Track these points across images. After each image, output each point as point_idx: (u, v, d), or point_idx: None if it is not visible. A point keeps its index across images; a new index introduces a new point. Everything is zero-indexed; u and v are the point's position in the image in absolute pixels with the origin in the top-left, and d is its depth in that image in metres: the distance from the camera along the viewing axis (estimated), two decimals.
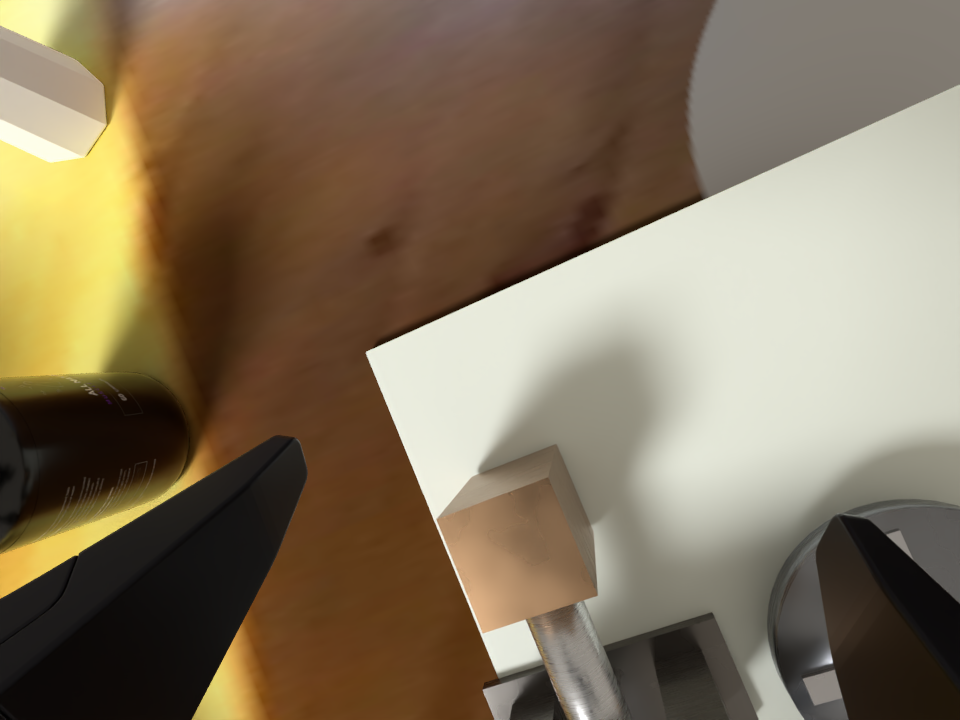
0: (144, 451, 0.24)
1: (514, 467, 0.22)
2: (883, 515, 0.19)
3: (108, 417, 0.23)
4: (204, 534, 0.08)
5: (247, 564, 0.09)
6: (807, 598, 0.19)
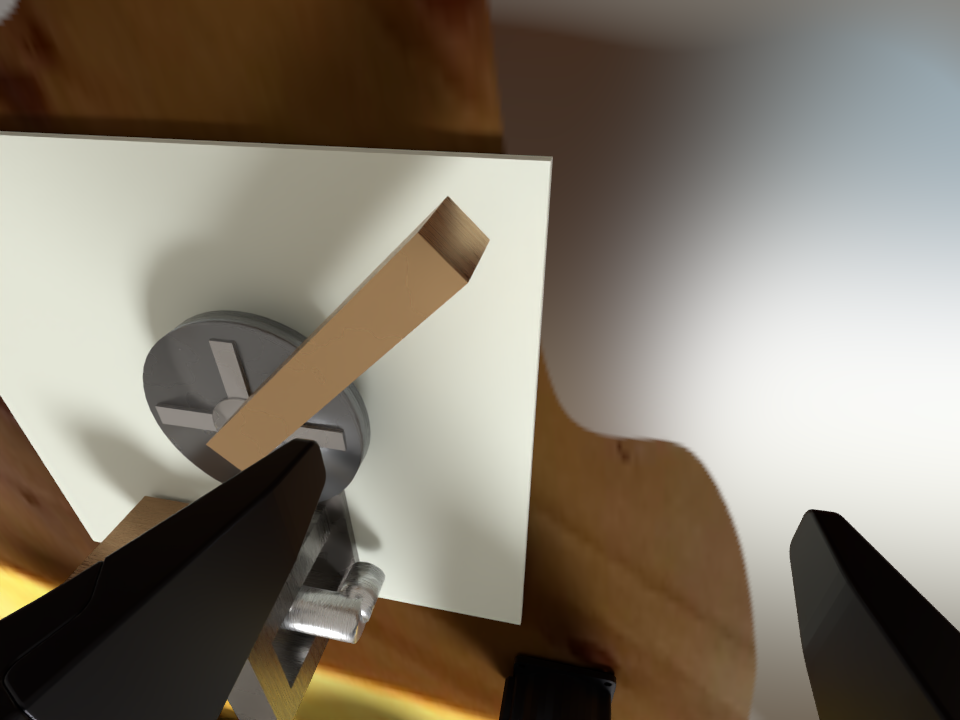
0: None
1: None
2: (149, 405, 0.24)
3: None
4: (228, 538, 0.08)
5: (269, 568, 0.09)
6: (209, 466, 0.26)
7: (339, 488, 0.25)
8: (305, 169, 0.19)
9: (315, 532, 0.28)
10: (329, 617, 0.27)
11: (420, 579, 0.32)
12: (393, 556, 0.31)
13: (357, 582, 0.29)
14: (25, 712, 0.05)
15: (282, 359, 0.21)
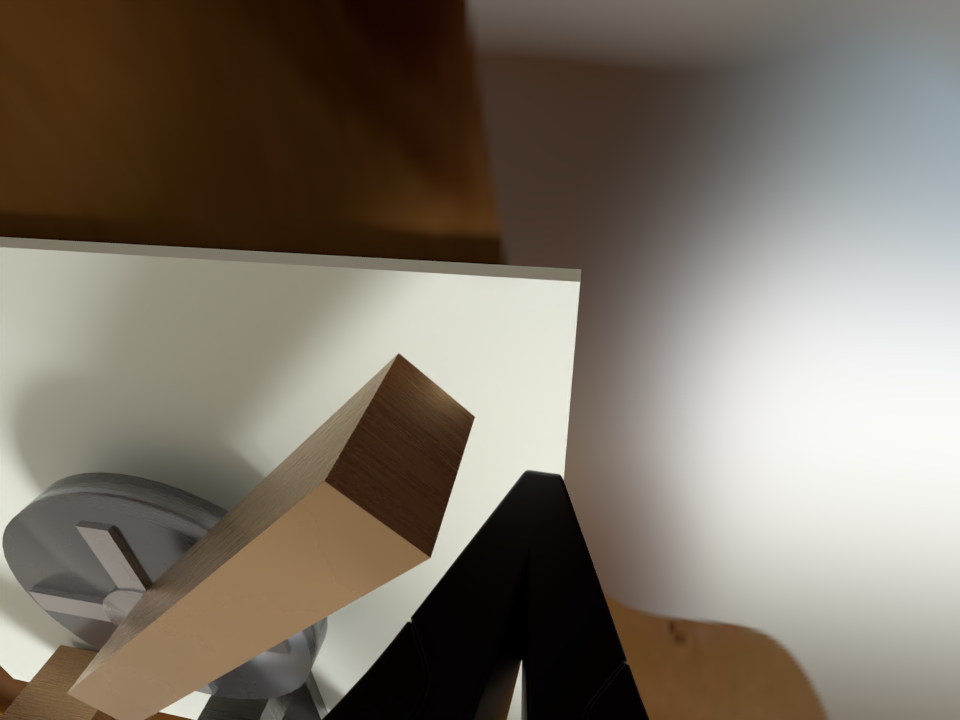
0: None
1: None
2: (23, 586, 0.18)
3: None
4: (522, 591, 0.07)
5: None
6: None
7: (289, 687, 0.18)
8: (201, 286, 0.13)
9: (266, 716, 0.22)
10: None
11: None
12: None
13: None
14: None
15: (183, 549, 0.14)
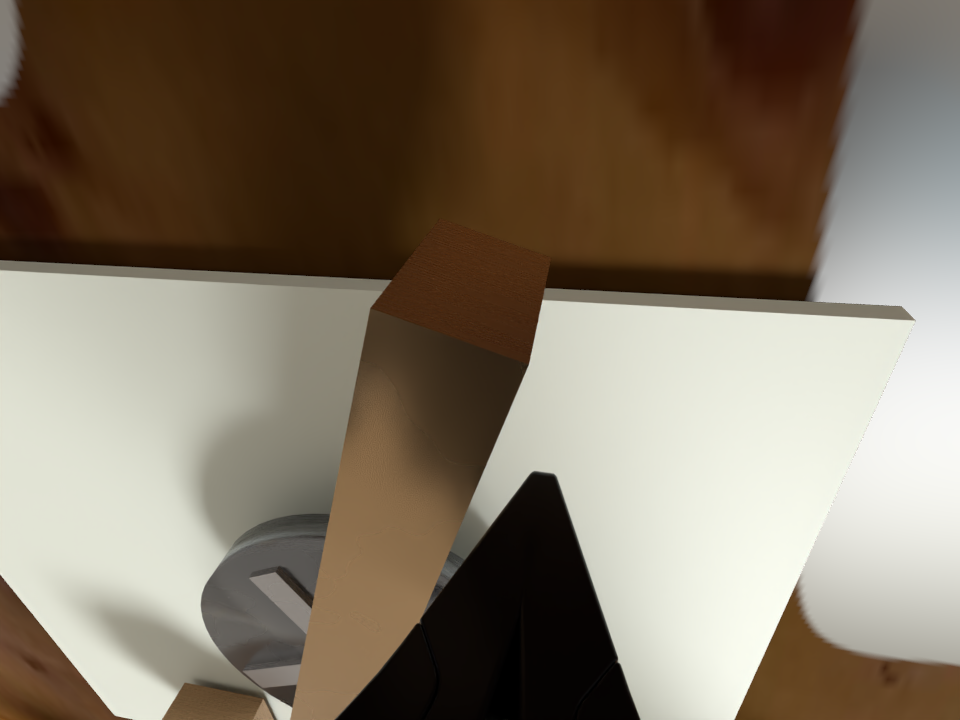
0: None
1: None
2: (239, 669, 0.18)
3: None
4: None
5: None
6: None
7: None
8: None
9: None
10: None
11: None
12: None
13: None
14: None
15: None
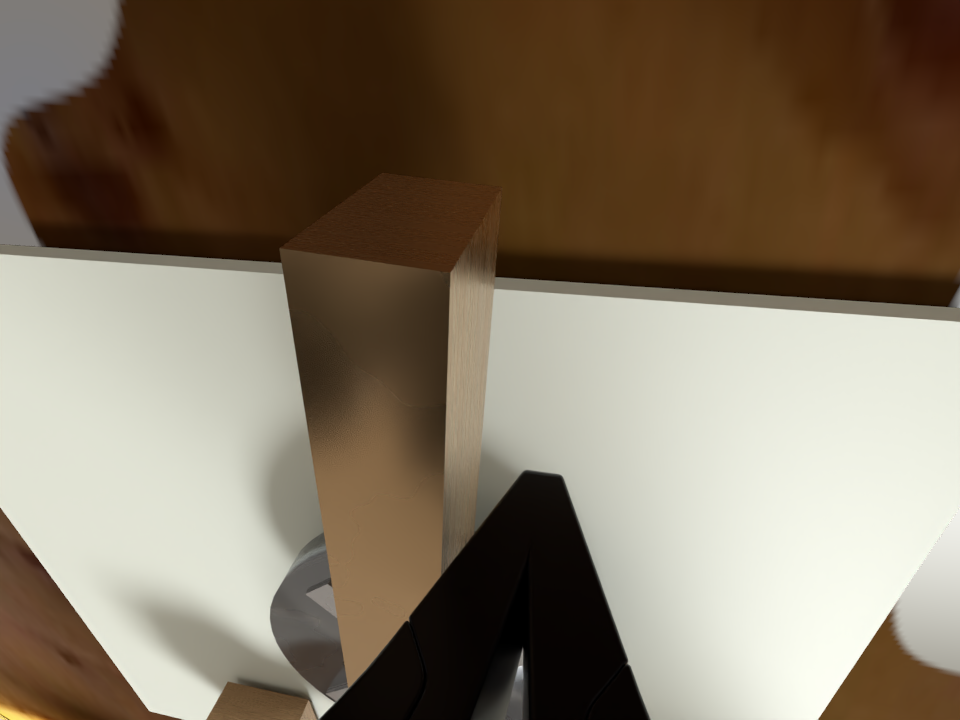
0: None
1: None
2: (323, 693, 0.18)
3: None
4: (520, 591, 0.07)
5: (525, 616, 0.08)
6: None
7: None
8: (582, 324, 0.12)
9: None
10: None
11: None
12: None
13: None
14: None
15: None
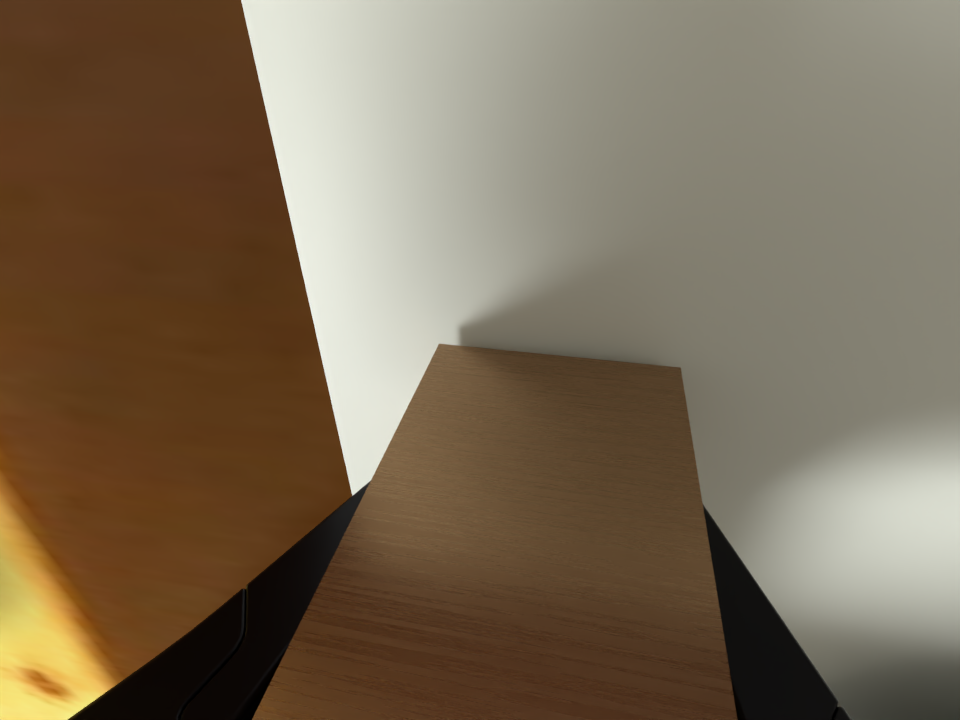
0: None
1: (563, 432, 0.07)
2: None
3: None
4: None
5: None
6: None
7: None
8: None
9: None
10: None
11: None
12: None
13: None
14: None
15: None
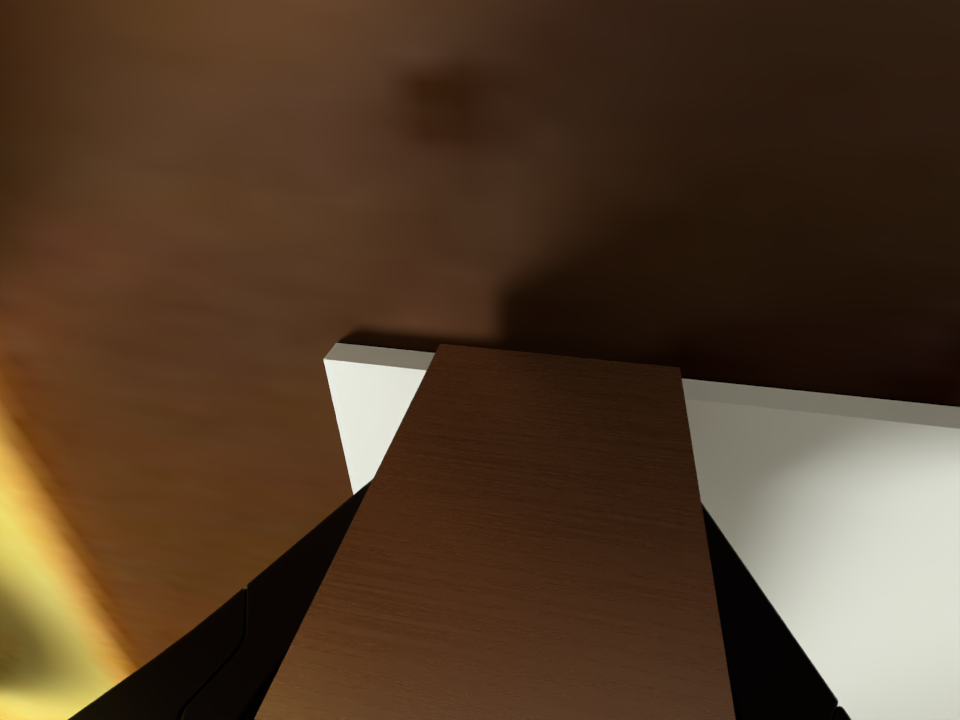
0: None
1: (563, 431, 0.08)
2: None
3: None
4: None
5: None
6: None
7: None
8: None
9: None
10: None
11: None
12: None
13: None
14: None
15: None
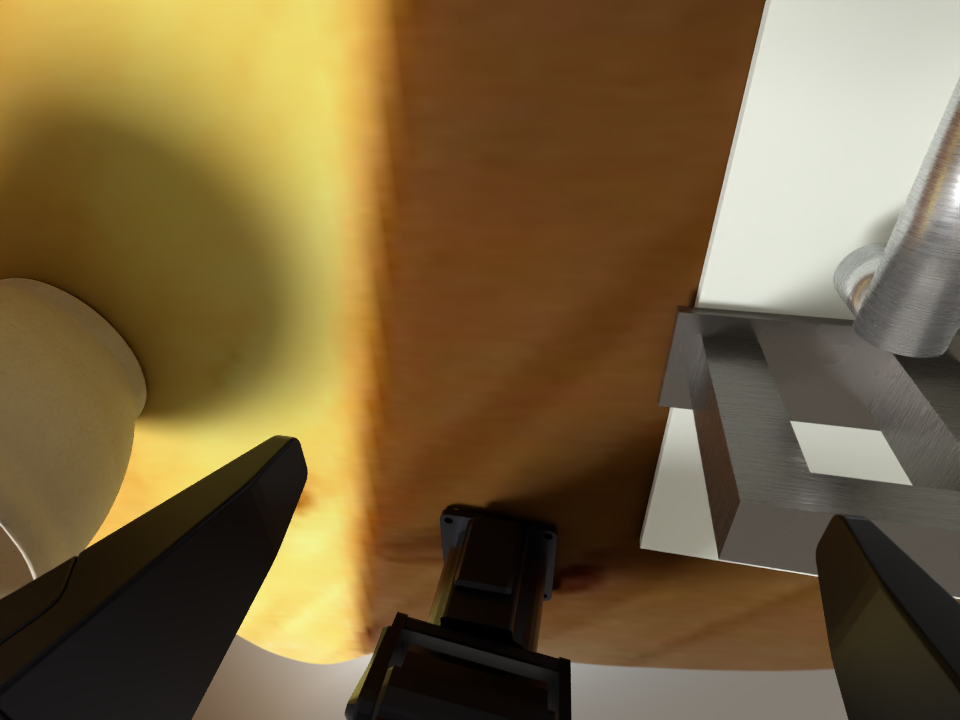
0: None
1: None
2: None
3: None
4: (204, 534, 0.08)
5: (247, 564, 0.09)
6: None
7: None
8: None
9: None
10: None
11: None
12: None
13: None
14: None
15: None
